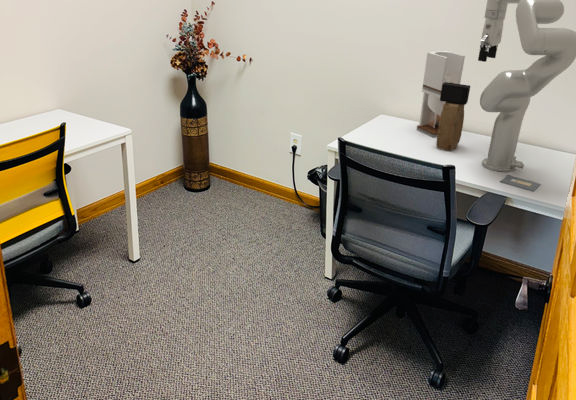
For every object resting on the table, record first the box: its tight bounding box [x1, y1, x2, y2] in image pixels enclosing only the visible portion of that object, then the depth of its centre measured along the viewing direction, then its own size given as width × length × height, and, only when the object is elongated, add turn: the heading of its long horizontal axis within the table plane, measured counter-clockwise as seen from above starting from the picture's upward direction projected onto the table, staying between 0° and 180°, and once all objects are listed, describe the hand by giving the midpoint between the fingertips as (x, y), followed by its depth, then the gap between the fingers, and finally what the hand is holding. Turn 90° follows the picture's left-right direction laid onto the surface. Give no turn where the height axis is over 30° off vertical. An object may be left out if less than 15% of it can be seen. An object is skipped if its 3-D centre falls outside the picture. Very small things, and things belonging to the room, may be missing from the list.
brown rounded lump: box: [435, 102, 465, 151], centre depth 227 cm, size 11×8×20 cm
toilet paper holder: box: [416, 50, 466, 138], centre depth 240 cm, size 11×11×35 cm
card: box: [499, 174, 542, 192], centre depth 199 cm, size 12×8×1 cm, turn 51°
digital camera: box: [440, 82, 471, 106], centre depth 220 cm, size 10×5×7 cm, turn 62°
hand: (486, 59), depth 219 cm, fingers open, 9 cm apart
